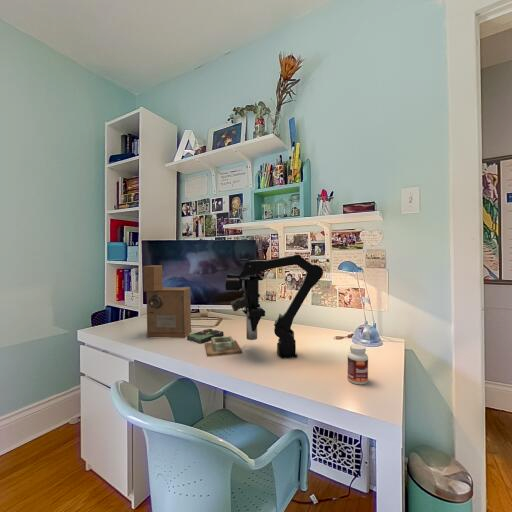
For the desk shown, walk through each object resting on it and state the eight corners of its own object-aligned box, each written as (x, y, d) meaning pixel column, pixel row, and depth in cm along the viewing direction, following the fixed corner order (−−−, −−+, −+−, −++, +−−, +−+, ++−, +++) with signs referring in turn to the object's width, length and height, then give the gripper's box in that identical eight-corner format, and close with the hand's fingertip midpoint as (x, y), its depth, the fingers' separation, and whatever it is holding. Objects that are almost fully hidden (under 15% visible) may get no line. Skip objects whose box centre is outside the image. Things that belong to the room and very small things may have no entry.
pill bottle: (357, 386, 87) (357, 351, 87) (343, 378, 93) (343, 345, 92) (372, 382, 90) (372, 348, 89) (358, 375, 95) (357, 342, 95)
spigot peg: (255, 336, 118) (255, 312, 118) (258, 339, 114) (258, 314, 114) (245, 337, 117) (245, 313, 117) (247, 340, 113) (247, 315, 112)
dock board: (235, 342, 130) (235, 333, 130) (241, 353, 116) (241, 343, 116) (204, 345, 127) (204, 336, 126) (207, 356, 113) (207, 346, 113)
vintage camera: (143, 340, 135) (141, 266, 134) (155, 331, 149) (154, 264, 149) (182, 340, 134) (181, 266, 133) (191, 331, 148) (190, 264, 147)
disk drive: (209, 333, 146) (186, 340, 134) (209, 328, 146) (186, 335, 134) (224, 337, 140) (201, 345, 128) (224, 331, 140) (201, 338, 128)
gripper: (228, 289, 122) (228, 325, 122) (236, 295, 104) (236, 338, 104) (253, 288, 125) (253, 323, 125) (265, 294, 107) (265, 335, 107)
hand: (251, 329), depth 115 cm, fingers closed on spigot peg, 4 cm apart
